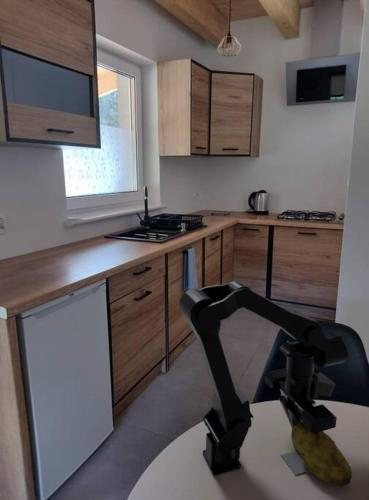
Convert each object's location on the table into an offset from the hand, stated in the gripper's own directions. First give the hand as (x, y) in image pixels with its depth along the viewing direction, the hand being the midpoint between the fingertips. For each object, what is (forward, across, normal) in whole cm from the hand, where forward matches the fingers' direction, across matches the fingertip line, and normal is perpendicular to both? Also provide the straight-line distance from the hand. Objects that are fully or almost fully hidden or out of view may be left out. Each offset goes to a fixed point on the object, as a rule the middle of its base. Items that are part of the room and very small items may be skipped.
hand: (294, 428), depth 82 cm
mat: (+3, -6, 0) cm, 7 cm away
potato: (+3, -9, 0) cm, 9 cm away
